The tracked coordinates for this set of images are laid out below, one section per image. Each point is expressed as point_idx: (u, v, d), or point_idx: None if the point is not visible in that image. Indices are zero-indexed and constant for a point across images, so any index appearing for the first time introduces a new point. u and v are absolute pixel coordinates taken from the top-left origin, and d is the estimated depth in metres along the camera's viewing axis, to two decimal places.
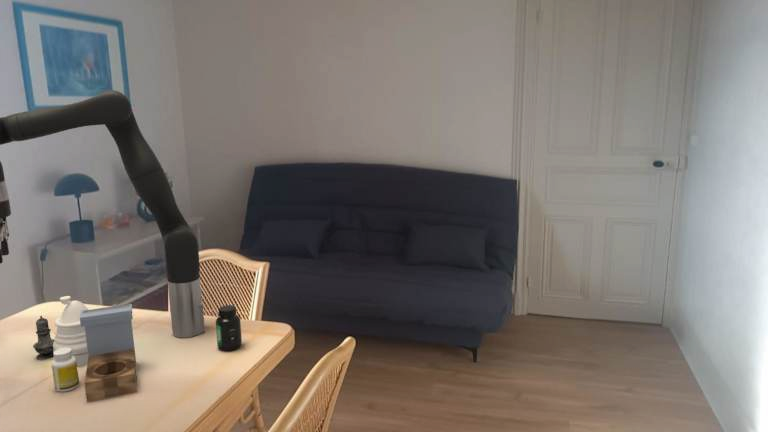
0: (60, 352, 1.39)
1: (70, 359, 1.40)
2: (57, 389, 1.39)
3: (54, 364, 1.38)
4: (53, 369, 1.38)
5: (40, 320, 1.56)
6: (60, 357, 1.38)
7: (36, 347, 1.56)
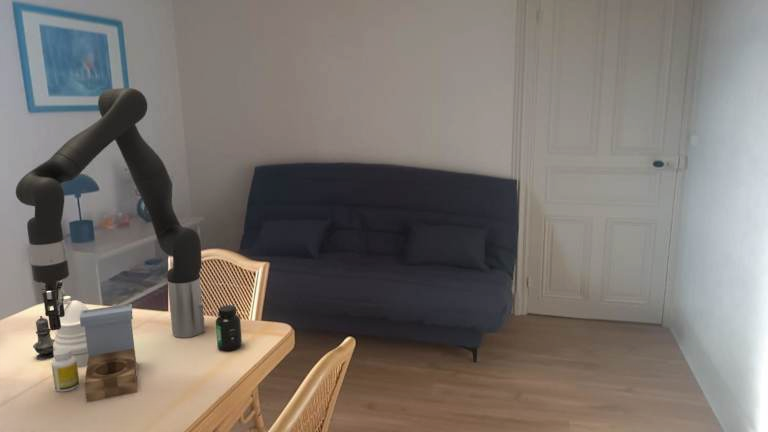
0: (60, 352, 1.39)
1: (70, 359, 1.40)
2: (57, 389, 1.39)
3: (54, 364, 1.38)
4: (53, 369, 1.38)
5: (40, 320, 1.56)
6: (60, 357, 1.38)
7: (36, 347, 1.56)
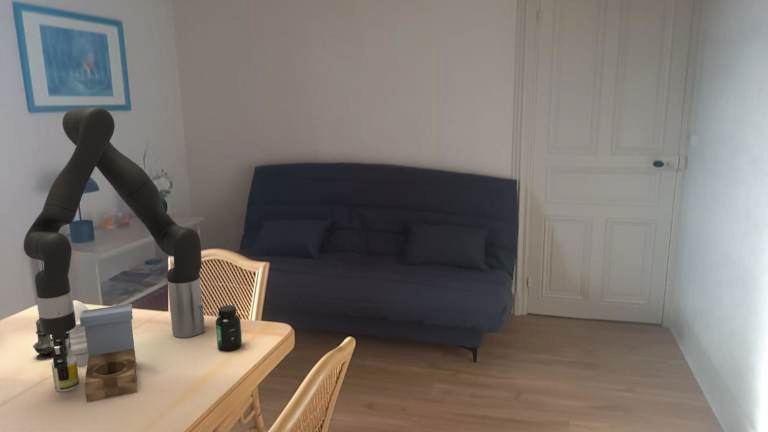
0: None
1: (70, 359, 1.40)
2: (57, 389, 1.39)
3: None
4: (53, 369, 1.38)
5: None
6: None
7: (36, 347, 1.56)
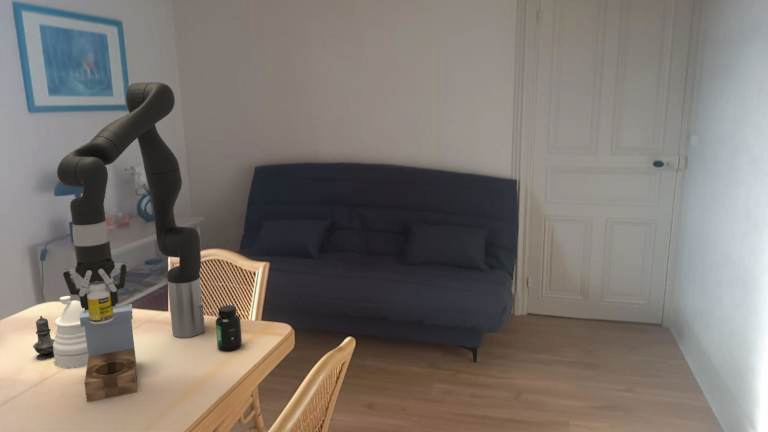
0: (93, 282, 1.36)
1: (92, 293, 1.35)
2: None
3: None
4: None
5: (40, 320, 1.56)
6: None
7: (36, 347, 1.56)
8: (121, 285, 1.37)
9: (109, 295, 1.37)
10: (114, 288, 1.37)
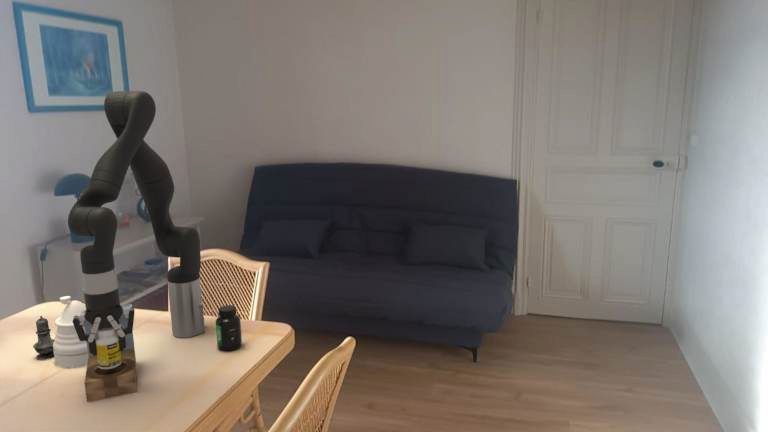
0: (102, 328, 1.38)
1: (101, 339, 1.37)
2: None
3: None
4: None
5: (40, 320, 1.56)
6: None
7: (36, 347, 1.56)
8: (129, 330, 1.40)
9: (118, 340, 1.39)
10: (122, 333, 1.39)
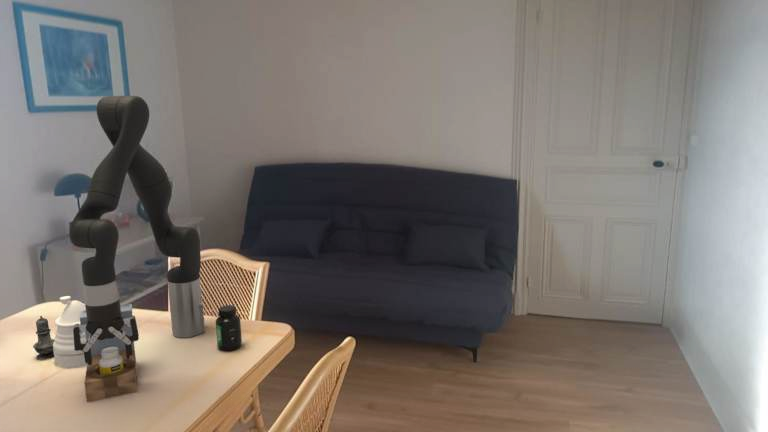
0: (106, 350, 1.40)
1: (105, 361, 1.39)
2: None
3: None
4: None
5: (40, 320, 1.56)
6: None
7: (36, 347, 1.56)
8: (135, 338, 1.41)
9: (121, 362, 1.41)
10: (128, 341, 1.40)
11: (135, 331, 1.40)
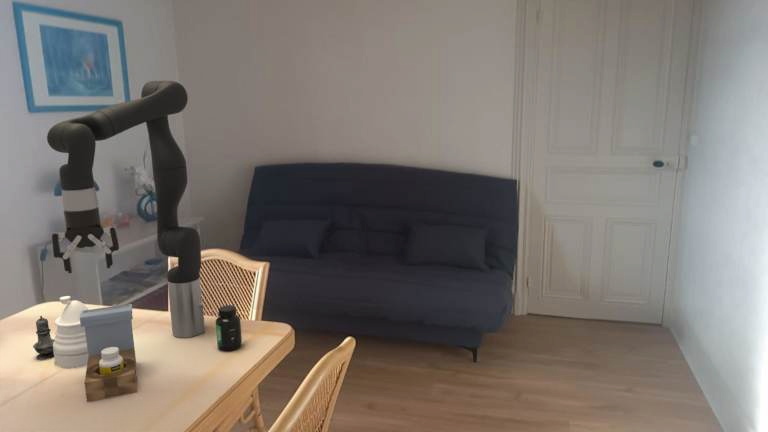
0: (106, 350, 1.40)
1: (105, 361, 1.38)
2: None
3: None
4: None
5: (40, 320, 1.56)
6: None
7: (36, 347, 1.56)
8: (115, 247, 1.40)
9: (121, 362, 1.41)
10: (109, 250, 1.40)
11: (115, 240, 1.40)
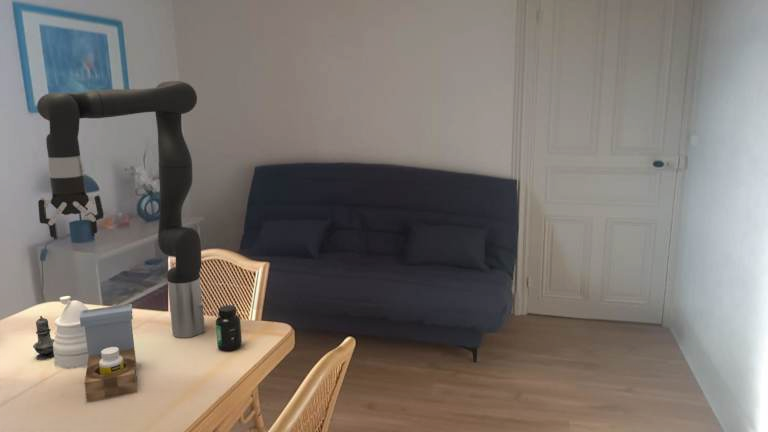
0: (106, 350, 1.40)
1: (105, 361, 1.38)
2: None
3: None
4: None
5: (40, 320, 1.56)
6: None
7: (36, 347, 1.56)
8: (100, 215, 1.45)
9: (121, 362, 1.41)
10: (93, 218, 1.45)
11: (100, 208, 1.45)
